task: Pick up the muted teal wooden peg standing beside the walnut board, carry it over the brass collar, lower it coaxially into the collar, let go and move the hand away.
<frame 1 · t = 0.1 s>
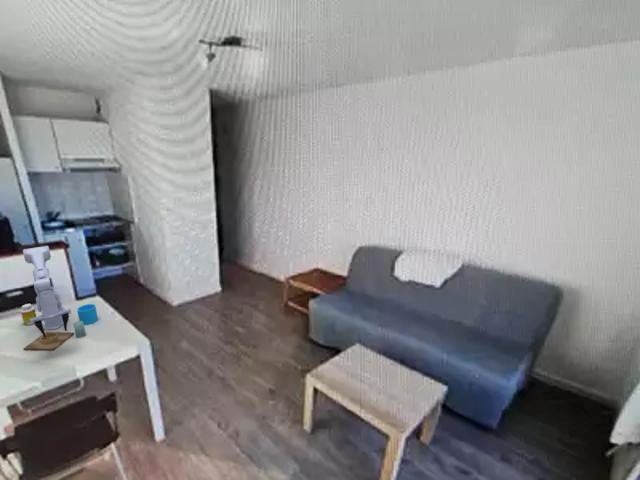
hand: (55, 333, 158), 10 cm above the table, tool pointing down, fingers open, 7 cm apart
supplement bottle: (31, 323, 187), on the table
socket board: (50, 341, 170), on the table
brass collar: (49, 338, 170), on the socket board, point 1 cm above the table
teal peg: (80, 335, 176), on the table
mug: (88, 320, 190), on the table
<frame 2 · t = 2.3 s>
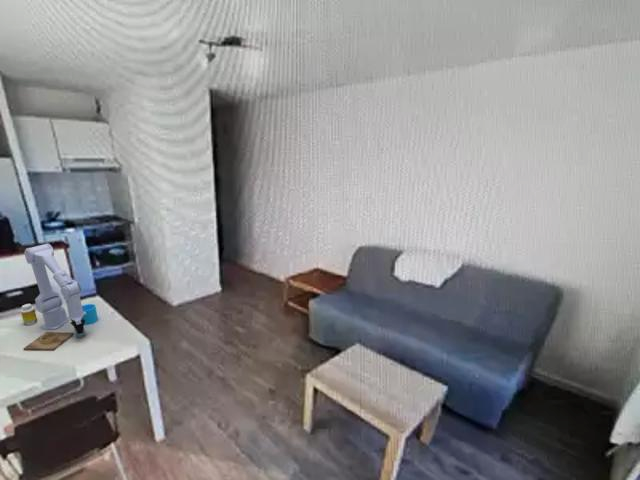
hand: (79, 331, 175), 2 cm above the table, tool pointing down, fingers closed on teal peg, 4 cm apart
teal peg: (80, 335, 176), on the table, touching gripper
everything else where it was.
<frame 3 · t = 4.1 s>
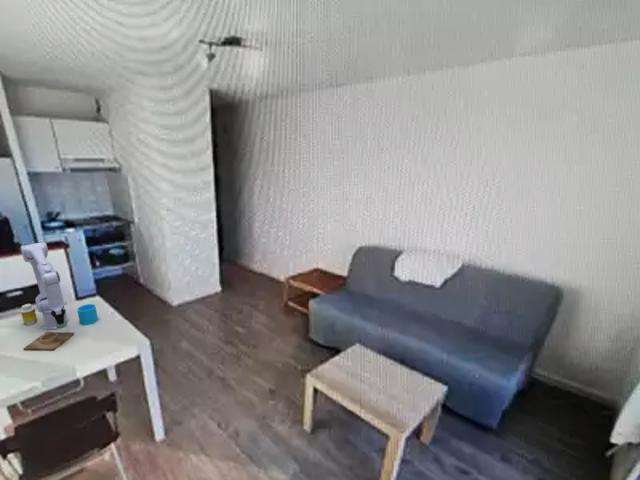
hand: (60, 321, 170), 9 cm above the table, tool pointing down, fingers closed on teal peg, 4 cm apart
teal peg: (61, 326, 171), point 7 cm above the table, touching gripper
everything else where it was.
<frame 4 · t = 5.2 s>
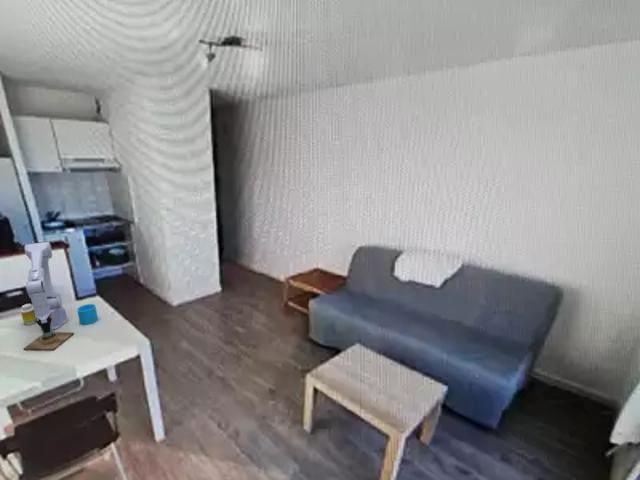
hand: (47, 330, 168), 6 cm above the table, tool pointing down, fingers closed on teal peg, 4 cm apart
teal peg: (48, 334, 169), point 4 cm above the table, touching gripper
everything else where it was.
when the fingers open (4 cm above the table, at t = 6.1 s): teal peg stays where it is, resting on socket board.
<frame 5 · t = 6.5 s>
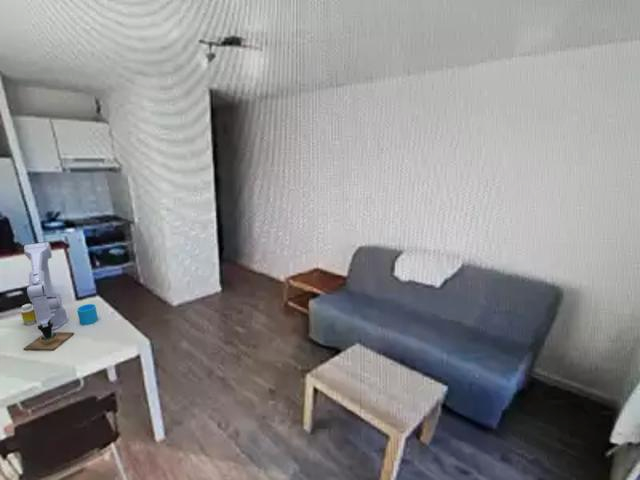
hand: (48, 333, 169), 4 cm above the table, tool pointing down, fingers open, 7 cm apart
teal peg: (49, 340, 170), point 1 cm above the table, touching socket board
everything else where it was.
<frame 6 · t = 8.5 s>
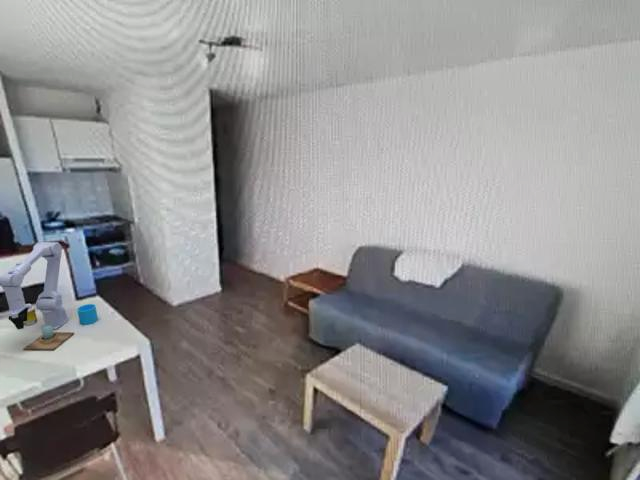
hand: (22, 324, 165), 10 cm above the table, tool pointing down, fingers open, 7 cm apart
nothing on the table moved.
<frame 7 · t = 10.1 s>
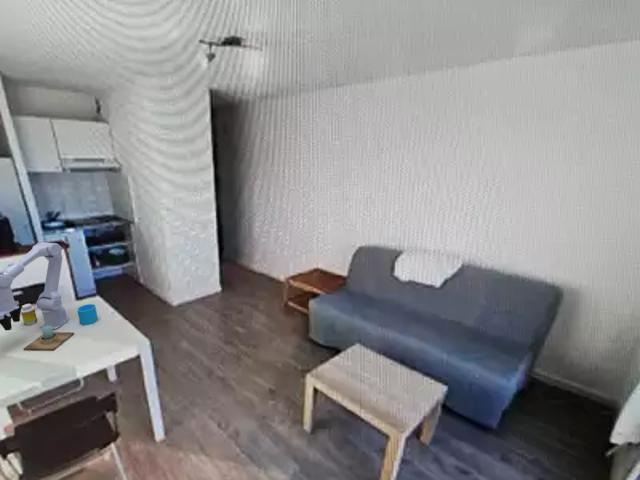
hand: (12, 325, 164), 10 cm above the table, tool pointing down, fingers open, 7 cm apart
nothing on the table moved.
at the end: teal peg 0.0 cm from the brass collar (horizontally); teal peg point 1.0 cm above the table; teal peg tilted 0° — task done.
